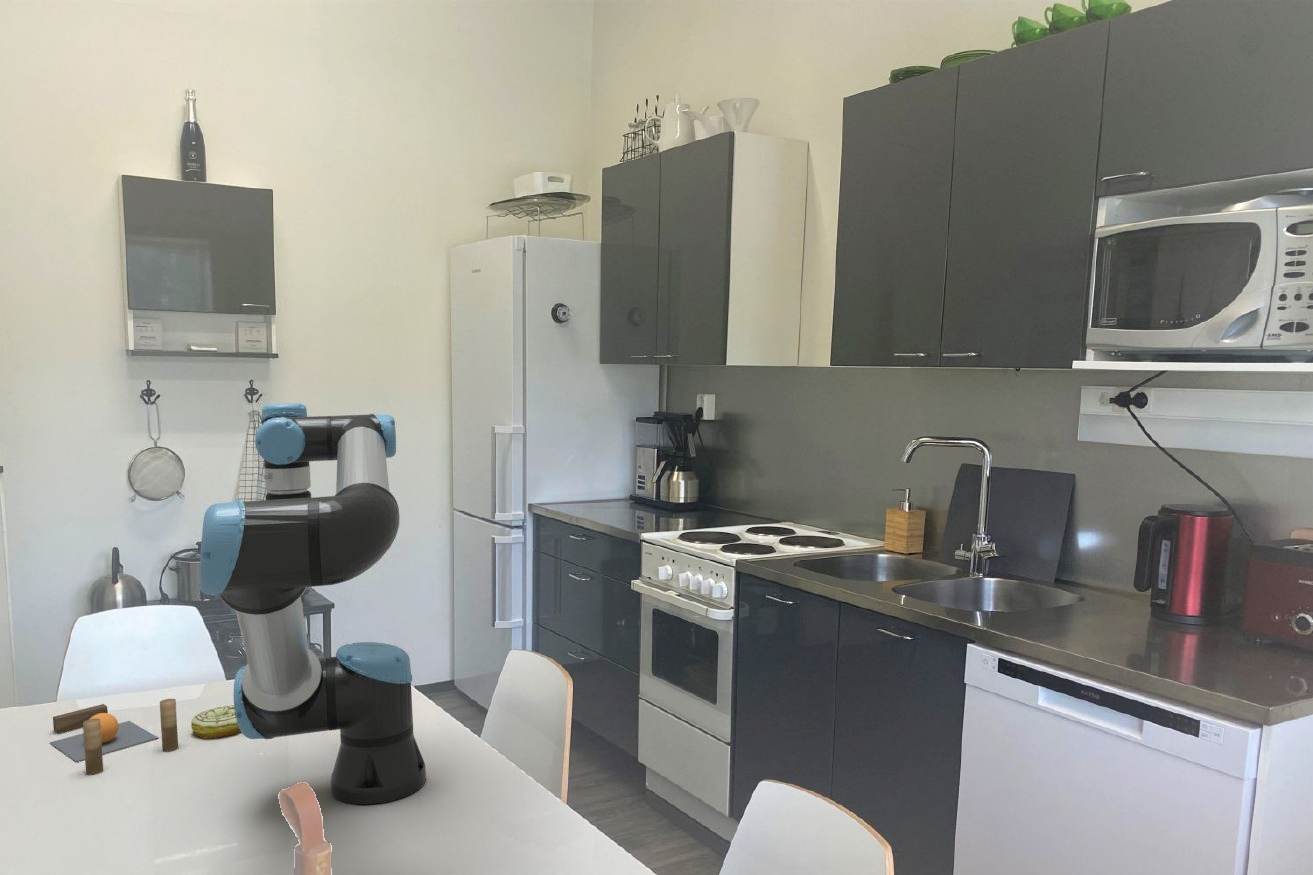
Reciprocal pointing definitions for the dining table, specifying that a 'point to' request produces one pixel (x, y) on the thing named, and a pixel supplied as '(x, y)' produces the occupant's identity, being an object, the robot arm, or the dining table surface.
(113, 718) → the ball
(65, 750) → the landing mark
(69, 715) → the stopper wall
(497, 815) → the dining table surface
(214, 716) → the decorated donut
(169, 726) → the right post
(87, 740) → the left post
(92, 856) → the dining table surface
